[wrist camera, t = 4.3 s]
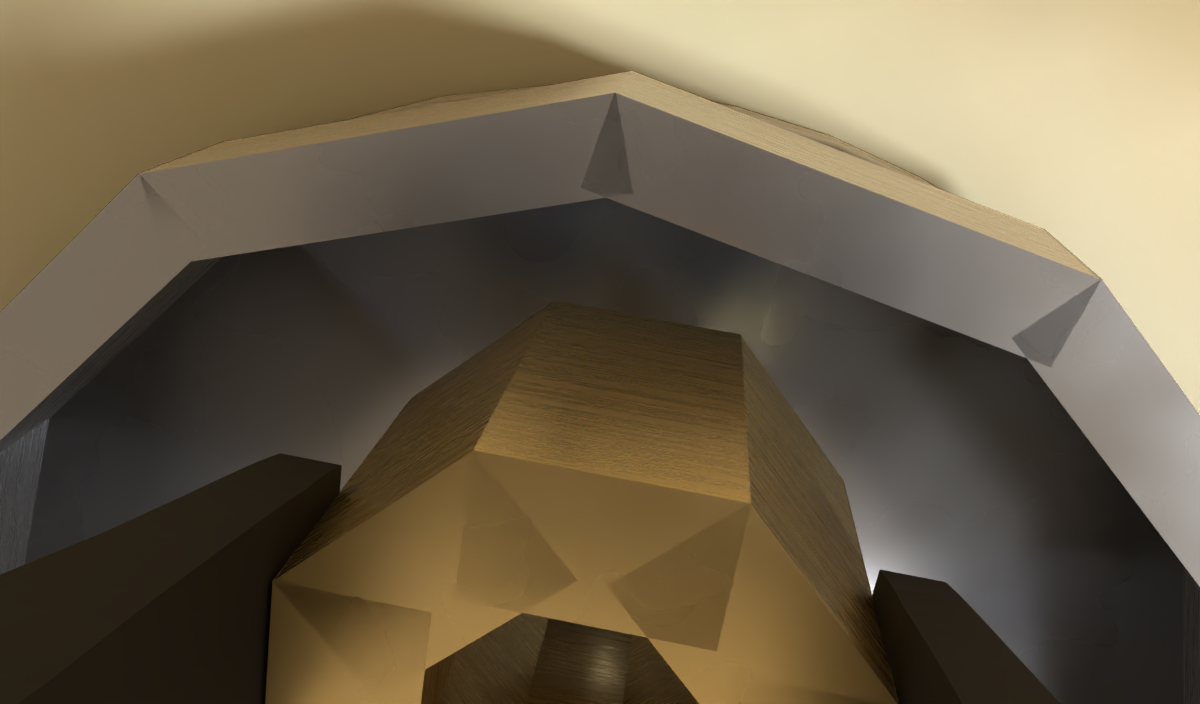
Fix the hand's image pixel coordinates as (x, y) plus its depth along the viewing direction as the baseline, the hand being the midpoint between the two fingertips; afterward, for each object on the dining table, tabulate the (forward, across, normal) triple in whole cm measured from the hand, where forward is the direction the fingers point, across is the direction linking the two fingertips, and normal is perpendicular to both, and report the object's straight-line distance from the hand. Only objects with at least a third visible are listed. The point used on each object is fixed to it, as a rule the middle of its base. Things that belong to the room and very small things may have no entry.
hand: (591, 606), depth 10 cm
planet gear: (+2, 0, 0) cm, 2 cm away
